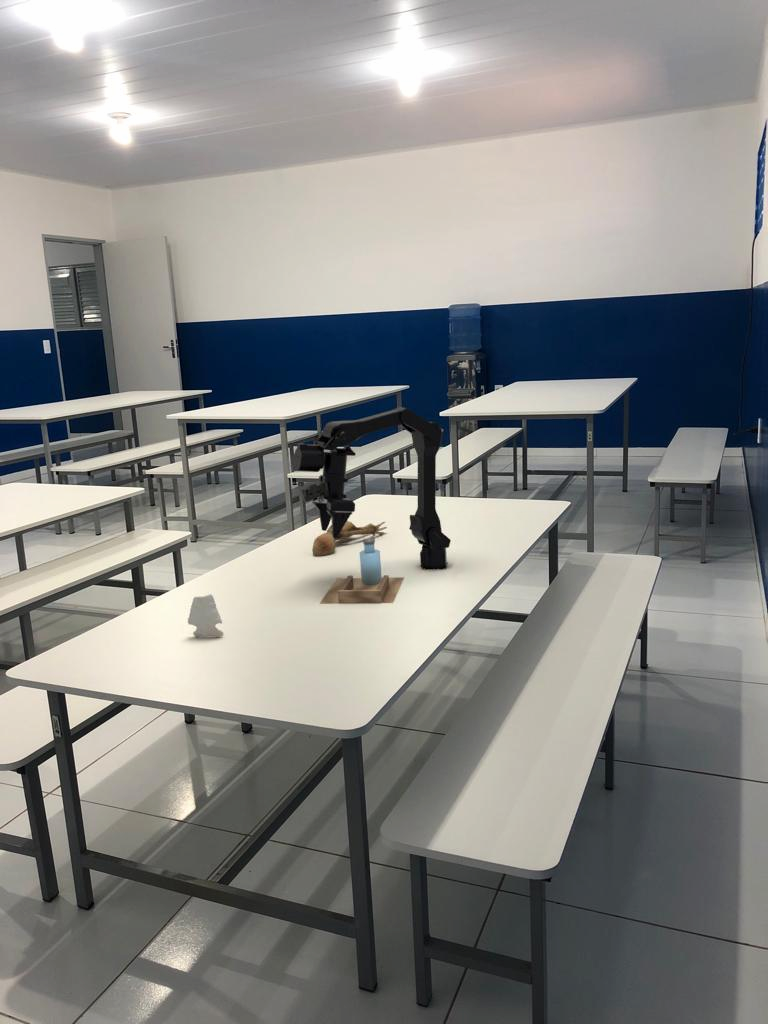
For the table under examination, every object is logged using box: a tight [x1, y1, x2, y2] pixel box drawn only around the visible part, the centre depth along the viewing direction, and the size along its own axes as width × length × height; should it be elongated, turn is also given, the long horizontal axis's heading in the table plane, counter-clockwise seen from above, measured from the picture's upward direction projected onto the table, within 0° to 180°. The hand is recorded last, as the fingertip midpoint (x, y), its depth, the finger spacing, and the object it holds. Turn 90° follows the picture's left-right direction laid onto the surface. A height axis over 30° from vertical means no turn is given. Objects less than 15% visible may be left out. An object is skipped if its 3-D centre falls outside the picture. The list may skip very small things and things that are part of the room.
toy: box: [311, 520, 388, 557], centre depth 259 cm, size 17×8×30 cm
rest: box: [319, 574, 405, 605], centre depth 211 cm, size 18×20×4 cm
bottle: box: [359, 537, 383, 585], centre depth 216 cm, size 5×5×11 cm
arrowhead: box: [187, 593, 224, 638], centre depth 186 cm, size 8×2×10 cm, turn 80°
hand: (329, 534), depth 212 cm, fingers open, 9 cm apart
